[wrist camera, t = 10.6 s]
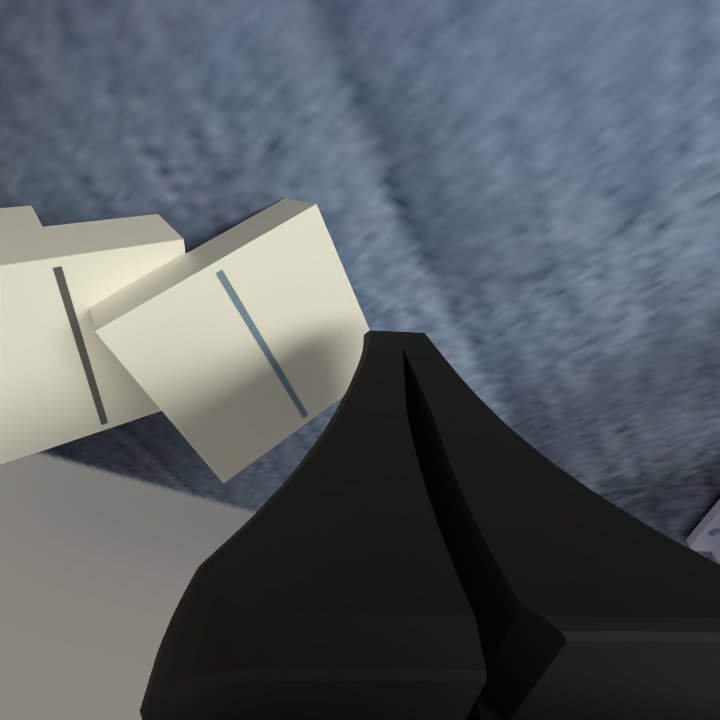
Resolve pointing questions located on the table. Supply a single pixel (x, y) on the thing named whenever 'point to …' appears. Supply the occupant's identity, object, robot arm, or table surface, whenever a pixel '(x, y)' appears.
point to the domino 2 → (242, 334)
